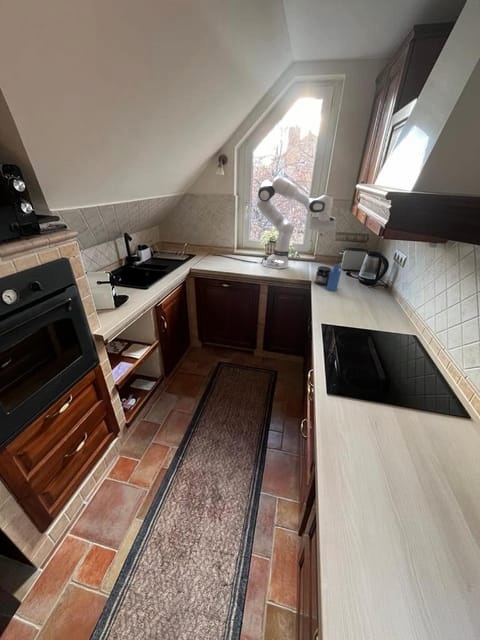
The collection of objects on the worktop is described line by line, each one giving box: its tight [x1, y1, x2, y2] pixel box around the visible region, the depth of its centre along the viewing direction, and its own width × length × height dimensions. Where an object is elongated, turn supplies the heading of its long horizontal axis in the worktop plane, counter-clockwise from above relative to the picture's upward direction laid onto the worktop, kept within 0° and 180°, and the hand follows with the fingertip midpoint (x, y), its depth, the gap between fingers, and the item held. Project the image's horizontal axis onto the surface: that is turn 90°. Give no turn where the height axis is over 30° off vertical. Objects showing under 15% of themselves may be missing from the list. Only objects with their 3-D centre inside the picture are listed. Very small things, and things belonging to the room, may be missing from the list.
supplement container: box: [314, 265, 332, 286], centre depth 190 cm, size 10×10×12 cm
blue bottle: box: [326, 263, 342, 292], centre depth 179 cm, size 7×7×18 cm
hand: (320, 235), depth 206 cm, fingers closed
